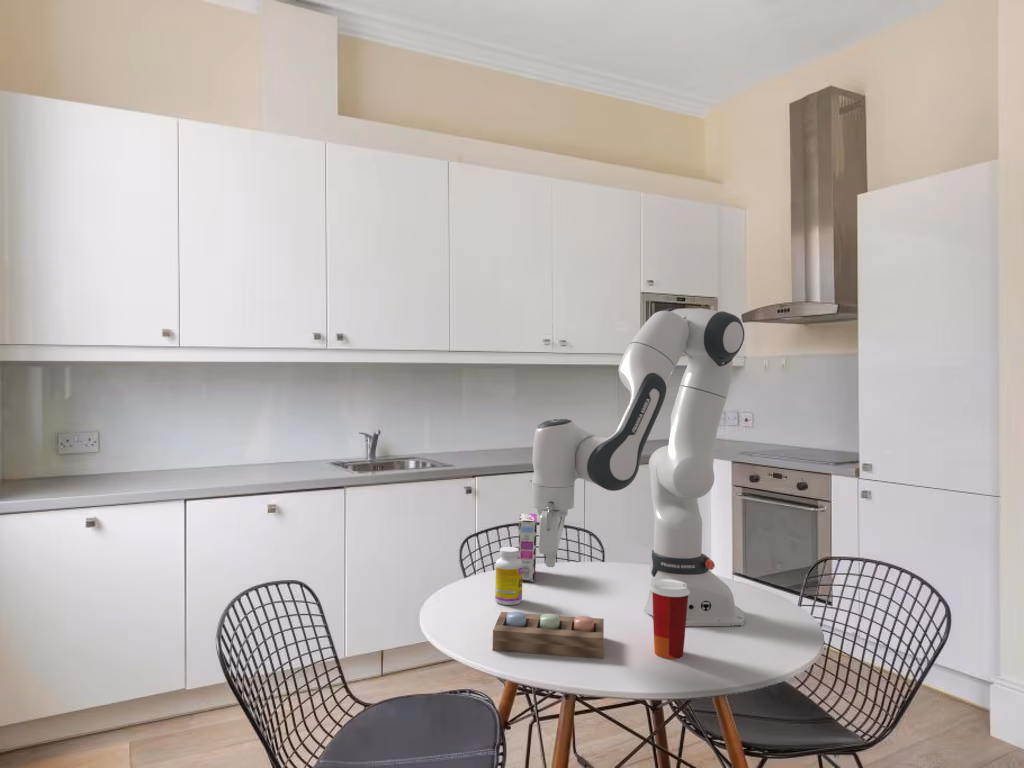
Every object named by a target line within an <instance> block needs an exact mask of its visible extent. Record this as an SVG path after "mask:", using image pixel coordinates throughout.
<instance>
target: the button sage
mask: <svg viewBox="0 0 1024 768" xmlns="http://www.w3.org/2000/svg"><path fill="white" fill-rule="evenodd" d="M559 616H560V615H557V614H555V613H543V614H541V616H540V628H545V629H559V627H560V617H559Z"/></svg>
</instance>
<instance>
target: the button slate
mask: <svg viewBox="0 0 1024 768" xmlns="http://www.w3.org/2000/svg"><path fill="white" fill-rule="evenodd" d="M508 612H509V611H508ZM526 614H527V613H526ZM526 614H525V612H522V611H510V612H509V613H507V626H516V627H526Z"/></svg>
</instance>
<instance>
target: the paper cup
mask: <svg viewBox="0 0 1024 768" xmlns="http://www.w3.org/2000/svg"><path fill="white" fill-rule="evenodd" d="M650 587H651V586H650ZM650 590H651V591H652V596H653V616H652V617H653V618H652V620H653V621H652V622H653V625H652V627H653V642H654V643H653V644H654V646H653V647H654V654H655V655H656V656H658V657H660V658H662V659H666V658H667V659H668V660H677V659H676V658H678V659H681V658H682V657H683V655H684V649H685V640H686V639H685V637H686V627H687V626H686V615H687V603H688V595H689V594H690V591H689V590H688V587H687V585H686V584H685V583H684V582H681V581H677V580H669V579H662V580H657V581H655V582H654V584H652V587H651V588H649V591H650ZM680 657H681V658H680Z"/></svg>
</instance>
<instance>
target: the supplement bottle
mask: <svg viewBox="0 0 1024 768" xmlns="http://www.w3.org/2000/svg"><path fill="white" fill-rule="evenodd" d="M499 555H500V558H498V559H497V560H495V574H494V575H495V576H494V578H495V581H494V601H495V603H497V604H498V605H504V606H515V605H519V604H520V603H522V601H523V582H522V570H523V563H522V561H521V560H520V559H518V555H519V549H518V548H517V547H514V546H503V547H500V549H499Z"/></svg>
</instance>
